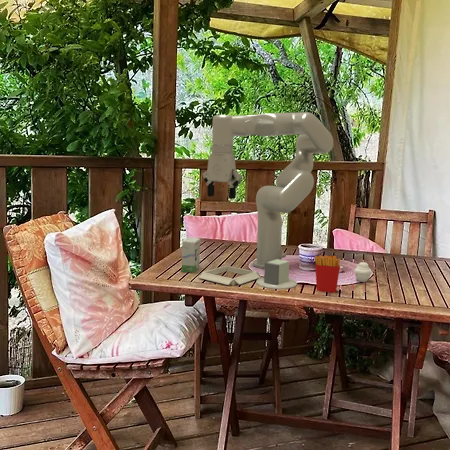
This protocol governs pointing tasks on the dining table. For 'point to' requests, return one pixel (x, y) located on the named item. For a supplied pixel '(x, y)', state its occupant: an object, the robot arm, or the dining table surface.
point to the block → (276, 272)
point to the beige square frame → (246, 277)
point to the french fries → (327, 273)
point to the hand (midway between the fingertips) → (221, 197)
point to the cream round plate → (285, 285)
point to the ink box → (190, 254)
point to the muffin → (362, 272)
